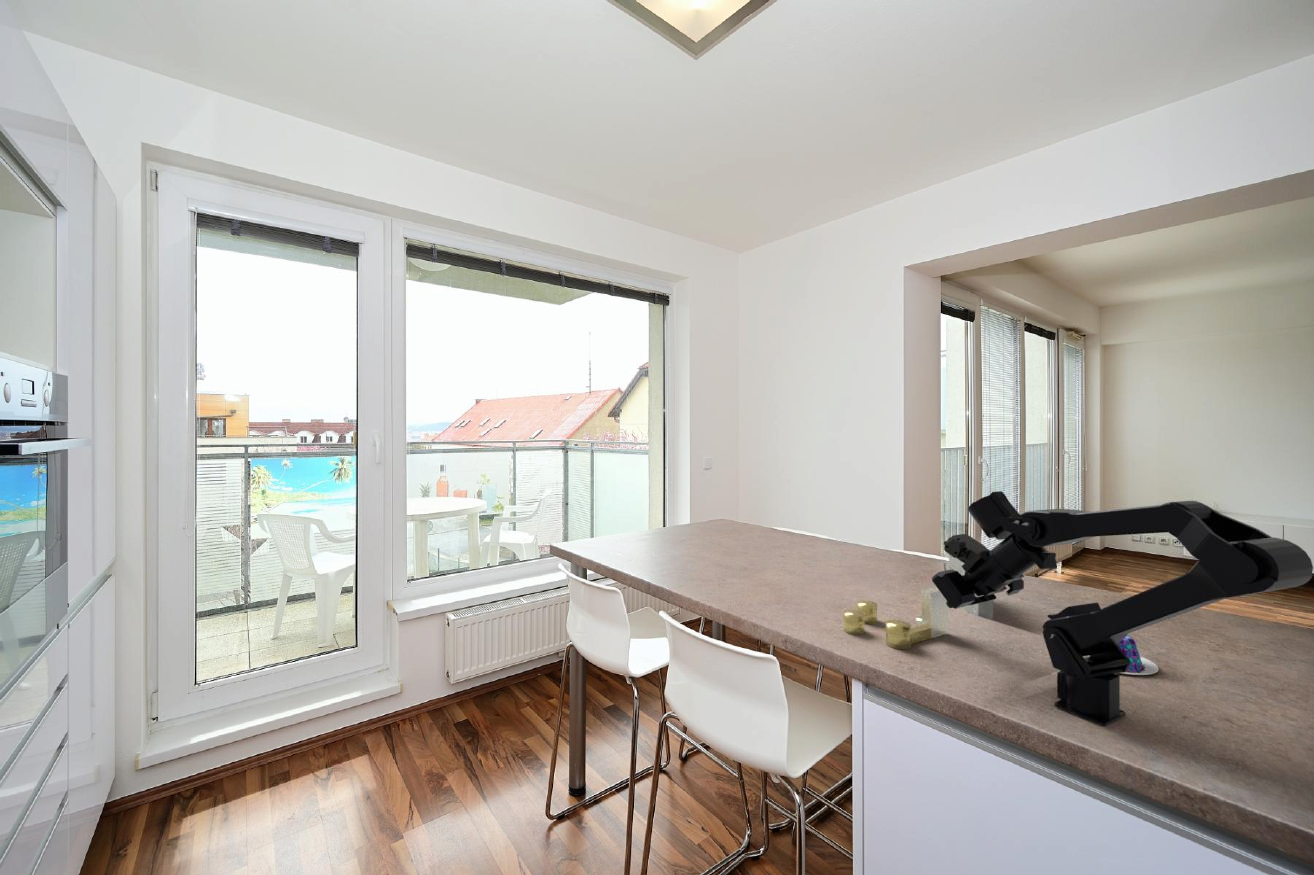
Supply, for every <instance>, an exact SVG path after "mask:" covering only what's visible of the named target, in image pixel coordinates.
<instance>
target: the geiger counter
mask: <svg viewBox="0 0 1314 875" xmlns="http://www.w3.org/2000/svg"><path fill="white" fill-rule="evenodd" d="M963 564H965V563H963V562H961V561H960V560H958V559H957V558H954V557H952V556H951V555H949V554H948V562H947V561H944V562H943V569H944V570H943V571H946V570H947V568H946V567H947V566H948V570H955V571H958V572H959V573H960V574H961V575H965V570H964V569H963V568H962V567H961V566H962V565H963ZM946 565H947V566H946ZM962 608H963V609H964V610H965V611H966V612H967V613H968V614H971V615H972V616H973V615H974V616H977V617H980V618H983V619H986V620H990V621H991V622H992V621H994V600H990V601H986V602H982V603H979V604H975V605H968V606H965V607H962Z"/></svg>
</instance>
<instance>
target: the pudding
mask: <svg viewBox="0 0 1314 875" xmlns="http://www.w3.org/2000/svg"><path fill="white" fill-rule="evenodd" d="M1117 645H1118V646H1119V647H1120V648H1121V650H1122V651H1123V652H1124V653H1125V655H1126V656H1127V657H1128V658H1129V659H1130V661H1131V664H1130V666H1129V668H1128V670H1127V672H1125V673H1122V672H1121V673H1120V674H1123V675H1124V674H1126V675H1133V676H1134V675H1136V676H1139V675H1140V676H1142V675H1143V676H1145V675H1153V674H1156V673H1157V672H1159V666H1158V665H1157V664H1155V663H1154V662H1153V661H1151V660H1149V659H1147V658H1146V657H1143V656H1141V655H1140V652H1139V649H1138V646H1137V643H1136V640H1135V639H1134V638H1133V637H1132V636H1131V635H1129V634H1127V635H1126V636H1125V637H1124V638H1123V639H1122V640H1121V642H1120V643H1118V644H1117ZM1142 664H1145V666H1143V665H1142ZM1144 667H1147V668H1144ZM1144 670H1145V671H1144ZM1138 671H1141V672H1142V673H1137V672H1138Z"/></svg>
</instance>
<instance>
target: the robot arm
mask: <svg viewBox="0 0 1314 875" xmlns="http://www.w3.org/2000/svg"><path fill="white" fill-rule="evenodd" d="M967 511H968V513H969V514H970V515H971V517H972V518H973V519H974V521H975V522H976V523H977V525H978V526H979V528H980V529H981V530H982V531H983V534H985V536H986V537H987V538H988V539H996V540H999V541H1000V540H1001V541H1000V542H999V543H998V544H997V545H995V546H994V547H993V548H992V549H988V548H987V546H985V545H984V544H982V543H981V542H979V541H978V540H976V539H975V538H973V537H972V536H971V535H968V534H965V533H962V534H961V533H960V534H955V535H953V534H952V535H951V537H948V539H947V540H945V541H944V542H943V545H944V546H943V550H944V553H945V552H946V554H948V556H949V555H951V556H952V557H954V558H957V559H958V560H960V561H961V562H963V563H965V564H963V565H962V566H961V567H962V568H963V569H964V570H965V575H961V574H960V573H959V572H958V571H955V570H949V569H946V571H945V570H943V571H938V572H937V573H935V575H933V576H932V578H931V581H932V583H933V584H934V585H935V587H937V588H938V589H939V591H940V592H941V594H942V595H943V596H944V598H945V599H946V600H947V602H946V604H947V606H948V609H954V610H956V609H961V608H963V607H965V606H968V605H975V604H979V603H982V602H986V601H990V600H993V601H994V600H996V599H997V596H996V594H998V593H1002V592H1005V591H1006V592H1005V594H1006V595H1007V596H1012V595H1017V593H1019V592H1021V591H1022V590H1024V589H1025V581H1024V579H1023V578H1024V577H1025V575H1024V573H1025V572H1028V571H1029V570H1030V569H1032V568H1033V567H1034V566H1035V565H1036V566H1037V567H1038V568H1039V569H1040V570H1056V569H1057V568H1058V565H1057V560H1056V559H1057V558H1056V556H1057V552H1056V553H1055V552H1053V551H1049V550H1048V549H1047V548H1046V547H1053V546H1054V547H1055V546H1061V545H1063V546H1064V545H1070V544H1074V543H1077V542H1083V541H1086V540H1090V539H1092V538H1096V537H1107V536H1108V537H1109V536H1110V537H1111V536H1112V537H1113V536H1126V535H1127V536H1128V535H1142V534H1143V535H1146V534H1159V533H1161V534H1162V533H1168V534H1170V535H1171V536H1173V537H1175V538H1176V540H1178V542H1179V543H1180V544H1181V545H1182V546H1183V547H1184V548H1185V549H1186V551H1188V553H1189V554H1190V555H1191V556H1192V557H1193V558H1195V559H1196V560H1197V562H1196V563H1195V564H1194V565H1193V566H1192V567H1191V568H1190V570H1188V571H1187V572H1186V573H1185V574H1182V575H1180V576H1177V577H1175V578H1173V579H1170V580H1168V581H1166V582H1163V583H1161V584H1159V585H1156V586H1154V587H1151V588H1149V589H1146V590H1143V591H1141V592H1139V593H1136V594H1133V595H1132V596H1129V597H1127V598H1125V599H1122V600H1120V601H1117V602H1115V603H1112V604H1110V605H1108V606H1106V607H1105V606H1104V607H1102V608H1101V606H1100V603H1099V602H1097V601H1096V602H1091V603H1090V602H1089V603H1084V604H1074V605H1069V606H1067V607H1065V608H1063V609H1062V610H1061V611H1059V612H1058V613H1052V614H1047V618H1049V619H1048V620H1047V621H1045V622H1044V623H1043V624H1042V634H1043V635H1042V636H1043V639H1044V640H1043V641H1044V642H1045V645H1046V650H1047V651H1048V655H1049V659H1050V662H1051V664H1052V667H1053V668H1054V669H1057V670H1058V672H1057V673H1056V684H1057V685H1056V689H1057V690H1056V691H1057V692H1056V694H1057V695H1056V697H1057V699H1058V700H1056V701H1054V706H1055V707H1056V708H1059V709H1061V710H1064V711H1066V712H1068V713H1071V714H1073V715H1074V716H1075V715H1076V716H1078V717H1080V718H1083V719H1085V720H1087V721H1090V722H1093V723H1095V724H1097V725H1100V726H1107V725H1109V724H1112V723H1113V722H1115V721H1117V720H1120V719H1121V718H1123V717H1125V716H1126V714H1127V712H1126V711H1125V710H1124V709H1123V710H1122V709H1120V707H1121V704H1120V702H1121V701H1120V698H1121V697H1120V693H1121V690H1120V689H1121V686H1120V684H1121V683H1120V681H1121V680H1120V678H1121V677H1120V675H1119V674H1124V673H1125V672H1127V670H1128V668H1129V666H1130V664H1131V661H1130V659H1129V658H1128V657H1127V656H1126V655H1125V653H1124V652H1123V651H1122V650H1121V648H1120V647H1119V646H1118V645H1117V644H1118V643H1120V642H1121V640H1122V639H1123V638H1124V637H1125V636H1126V635H1129V634H1130V633H1133V632H1136V631H1138V630H1142V629H1144V628H1146V627H1147V628H1148V627H1150V626H1153V625H1156V624H1159V623H1162V622H1164V621H1167V620H1169V619H1172V618H1175V617H1178V616H1180V615H1183V614H1186V613H1189V612H1192V611H1195V610H1197V609H1200V608H1202V607H1206V606H1208V605H1212V604H1214V603H1217V602H1220V601H1222V600H1225V599H1232V598H1236V597H1238V598H1239V597H1242V596H1249V595H1255V594H1261V593H1268V592H1273V591H1279V590H1284V589H1285V590H1286V589H1291V588H1297V587H1300V586H1303V585H1305V584H1307V583H1309V581H1310V580H1311V579H1313V570H1314V566H1313V561H1312V558H1310V556H1309V555H1308V553H1307V552H1306V551H1305V550H1304V549H1303V548H1302V547H1300V546H1299V545H1297V544H1296V543H1293V542H1292V541H1290V540H1288V539H1283V538H1278V537H1273V536H1270V535H1269V534H1267V533H1266V532H1264V531H1263V530H1260V529H1259V528H1257V527H1255V526H1252V525H1250V524H1246V523H1245V522H1242V521H1240V520H1237V519H1235V518H1232V517H1229V516H1228V515H1225V514H1222V513H1220V512H1219V511H1217V510H1215V509H1214V508H1212V507H1210V506H1208V505H1206V504H1204V503H1202V502H1201V501H1197V500H1181V501H1180V500H1178V501H1168V502H1165V503H1163V504H1159V505H1158V504H1157V505H1147V506H1138V507H1137V506H1136V507H1126V508H1119V509H1117V508H1116V509H1107V510H1098V511H1097V510H1096V511H1086V510H1080V509H1069V508H1050V509H1035V510H1027V511H1025V512H1023V513H1022V514H1020V513H1019V511H1018V510H1017V509H1016V508H1015V507H1014V506H1013V504H1012V503H1011V502H1010V500H1009V499H1008V497H1007V495H1006V494H1005V493H1004V491H1001V490H999V491H998V490H997V491H992V492H991V493H990V494H988V495H986V496H984V497H981V498H979V499H978V500H976V501H973V502H972V503H971V504H970V505H969V506H968V508H967ZM1008 588H1009V589H1008ZM1088 656H1089V657H1088ZM1121 672H1122V673H1121Z"/></svg>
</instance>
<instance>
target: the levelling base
mask: <svg viewBox="0 0 1314 875" xmlns="http://www.w3.org/2000/svg"><path fill="white" fill-rule="evenodd" d="M856 605H857V606H856V609H847V610H845V609H844V610H843V632H844V633H845V634H848V635H852V636H861V635H865V632H866V628H865V626H866V625H876V624H878V603H877V602H874V601H872V600H858V601H857V603H856ZM915 622H917V623H919V624H922V615H921V616H916V617H915Z"/></svg>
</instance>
